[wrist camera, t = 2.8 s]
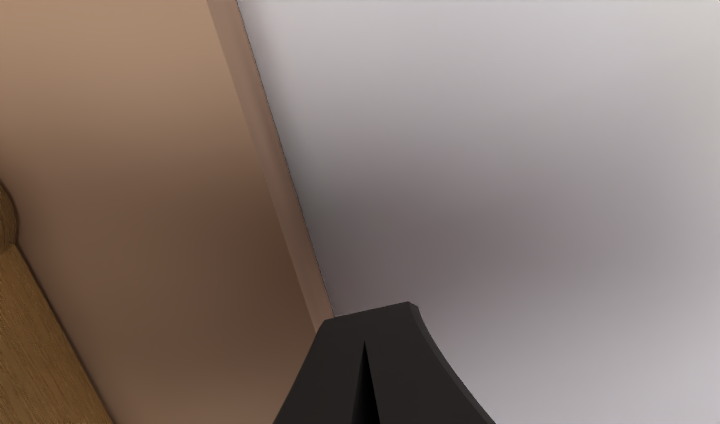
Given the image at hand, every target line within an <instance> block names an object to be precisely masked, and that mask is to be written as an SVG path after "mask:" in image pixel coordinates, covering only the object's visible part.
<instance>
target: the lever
mask: <svg viewBox="0 0 720 424" xmlns="http://www.w3.org/2000/svg"><path fill="white" fill-rule="evenodd" d="M16 234H17V222H16V215H15V212H14V209H13V206H12V204H11V202H10V199H9V198H8V196H7V194H6V193H5V191H4V189H3V188H2V187H1V186H0V424H113V422H112V421H111V419H110V417H109V415H108V413H107V411H106V410H105V408H104V406H103V404H102V402H101V400H100V399H99V397H98V395H97V393H96V391H95V389H94V388H93V386H92V384H91V382H90V380H89V378H88V377H87V375H86V373H85V371H84V369H83V367H82V366H81V364H80V362H79V360H78V358H77V356H76V355H75V353H74V351H73V349H72V347H71V346H70V344H69V342H68V340H67V338H66V336H65V335H64V333H63V331H62V329H61V327H60V325H59V324H58V322H57V320H56V318H55V316H54V314H53V313H52V311H51V309H50V307H49V305H48V303H47V302H46V300H45V298H44V296H43V294H42V292H41V291H40V289H39V287H38V285H37V283H36V281H35V280H34V278H33V276H32V274H31V272H30V270H29V269H28V267H27V265H26V263H25V261H24V259H23V258H22V256H21V254H20V252H19V250H18V249H17V247H16V245H15V240H16Z"/></svg>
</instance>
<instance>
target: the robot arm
mask: <svg viewBox="0 0 720 424" xmlns="http://www.w3.org/2000/svg"><path fill="white" fill-rule="evenodd" d="M273 424H496V423H495V422H494V421H493V420H492V419H491V417H490V416H489V415H488V414H487V413H486V411H485V410H484V409H483V408H482V407H481V405H480V404H479V403H478V402H477V401H476V399H475V398H474V397H473V395H472V394H471V393H470V391H469V390H468V389H467V387H466V386H465V385H464V384H463V382H462V381H461V380H460V378H459V377H458V376H457V374H456V373H455V372H454V371H453V369H452V368H451V366H450V365H449V363H448V362H447V361H446V359H445V358H444V356H443V355H442V353H441V351H440V350H439V348H438V347H437V345H436V344H435V342H434V340H433V339H432V337H431V335H430V334H429V332H428V330H427V328H426V326H425V324H424V322H423V320H422V318H421V315H420V313H419V309H418V307H417V306H416V305H414V304H412V303H411V302H409V301H408V302H404V303H399V304H395V305H390V306H385V307H381V308H376V309H372V310H367V311H362V312H358V313H353V314H349V315H344V316H340V317H335V318H330V319H326V320H324V321H323V323H322V324H321V326H320V327H319V329H318V331H317V334H316V336H315V338H314V340H313V343H312V345H311V347H310V349H309V352H308V354H307V356H306V358H305V360H304V362H303V364H302V367H301V369H300V371H299V373H298V375H297V377H296V379H295V381H294V383H293V385H292V387H291V389H290V391H289V393H288V395H287V397H286V399H285V401H284V403H283V405H282V406H281V408H280V410H279V412H278V414H277V416H276V418H275V420H274V422H273Z"/></svg>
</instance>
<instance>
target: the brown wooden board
mask: <svg viewBox="0 0 720 424" xmlns="http://www.w3.org/2000/svg"><path fill="white" fill-rule="evenodd" d="M0 186H1V187H2V188H3V189H4V191H5V193H6V194H7V196H8V198H9V199H10V202H11V204H12V206H13V209H14V212H15V215H16V222H17V234H16V240H15V245H16V247H17V249H18V250H19V252H20V254H21V256H22V258H23V259H24V261H25V263H26V265H27V267H28V269H29V270H30V272H31V274H32V276H33V278H34V280H35V281H36V283H37V285H38V287H39V289H40V291H41V292H42V294H43V296H44V298H45V300H46V302H47V303H48V305H49V307H50V309H51V311H52V313H53V314H54V316H55V318H56V320H57V322H58V324H59V325H60V327H61V329H62V331H63V333H64V335H65V336H66V338H67V340H68V342H69V344H70V346H71V347H72V349H73V351H74V353H75V355H76V356H77V358H78V360H79V362H80V364H81V366H82V367H83V369H84V371H85V373H86V375H87V377H88V378H89V380H90V382H91V384H92V386H93V388H94V389H95V391H96V393H97V395H98V397H99V399H100V400H101V402H102V404H103V406H104V408H105V410H106V411H107V413H108V415H109V417H110V419H111V421H112V422H113V424H273V422H274V420H275V418H276V416H277V414H278V412H279V410H280V408H281V406H282V405H283V403H284V401H285V399H286V397H287V395H288V393H289V391H290V389H291V387H292V385H293V383H294V381H295V379H296V377H297V375H298V373H299V371H300V369H301V367H302V364H303V362H304V360H305V358H306V356H307V354H308V352H309V349H310V347H311V345H312V343H313V340H314V338H315V336H316V334H317V331H318V329H319V327H320V326H321V324H322V323H323V321H324V320H326V319H330V318H334V315H333V312H332V308H331V305H330V302H329V299H328V295H327V292H326V289H325V286H324V282H323V279H322V276H321V273H320V269H319V266H318V263H317V260H316V257H315V253H314V250H313V247H312V244H311V240H310V237H309V234H308V231H307V227H306V224H305V221H304V218H303V214H302V211H301V208H300V205H299V202H298V198H297V195H296V192H295V189H294V185H293V182H292V179H291V176H290V172H289V169H288V166H287V163H286V159H285V156H284V153H283V150H282V147H281V143H280V140H279V137H278V134H277V130H276V127H275V124H274V121H273V117H272V114H271V111H270V108H269V105H268V101H267V98H266V95H265V92H264V88H263V85H262V82H261V79H260V75H259V72H258V69H257V66H256V62H255V59H254V56H253V53H252V50H251V46H250V43H249V40H248V37H247V33H246V30H245V27H244V24H243V20H242V17H241V14H240V11H239V7H238V4H237V1H236V0H0Z"/></svg>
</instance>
